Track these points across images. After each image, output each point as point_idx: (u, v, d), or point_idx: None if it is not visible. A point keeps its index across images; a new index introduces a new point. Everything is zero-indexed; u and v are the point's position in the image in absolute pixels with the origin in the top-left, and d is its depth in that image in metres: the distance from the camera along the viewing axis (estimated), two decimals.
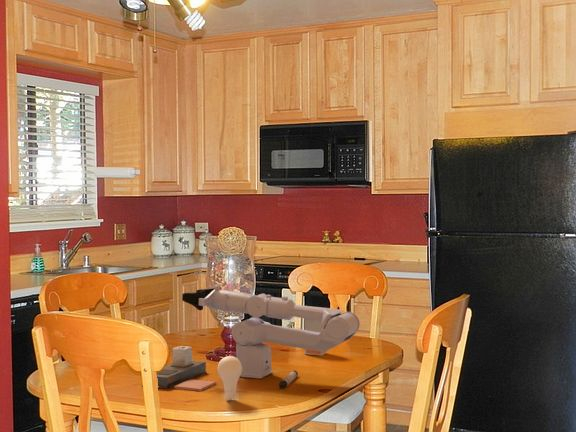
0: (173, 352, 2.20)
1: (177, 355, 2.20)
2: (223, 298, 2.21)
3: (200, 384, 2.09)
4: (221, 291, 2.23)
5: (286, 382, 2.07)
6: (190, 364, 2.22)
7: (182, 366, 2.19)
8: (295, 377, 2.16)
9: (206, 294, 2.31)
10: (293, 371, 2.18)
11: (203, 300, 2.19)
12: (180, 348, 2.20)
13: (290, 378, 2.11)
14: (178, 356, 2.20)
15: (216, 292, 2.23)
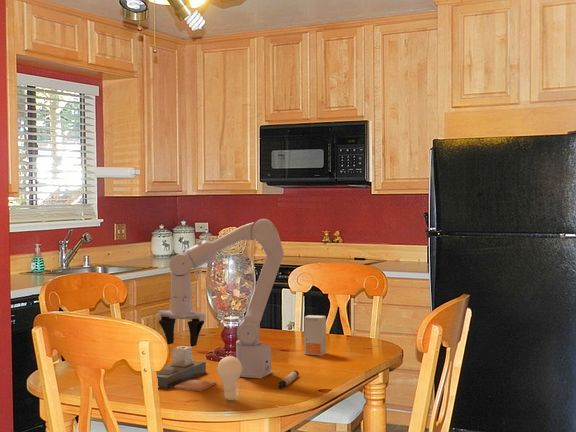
0: (173, 352, 2.20)
1: (177, 355, 2.20)
2: (187, 301, 2.19)
3: (200, 384, 2.09)
4: (179, 307, 2.18)
5: (285, 382, 2.07)
6: (190, 364, 2.22)
7: (182, 366, 2.19)
8: (296, 377, 2.16)
9: (170, 332, 2.23)
10: (294, 371, 2.18)
11: (202, 315, 2.17)
12: (180, 348, 2.20)
13: (290, 378, 2.11)
14: (178, 356, 2.20)
15: (182, 311, 2.18)
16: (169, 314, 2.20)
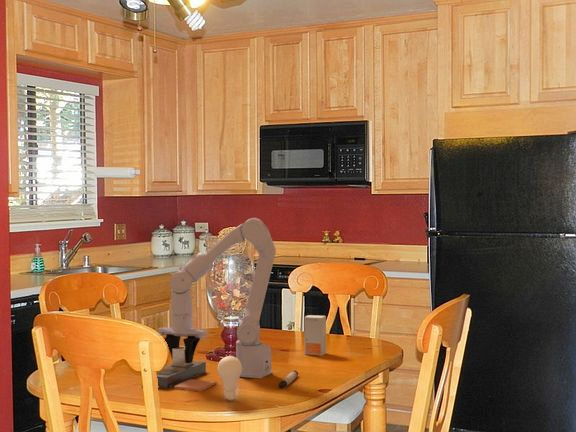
0: (173, 352, 2.20)
1: (177, 355, 2.20)
2: (187, 318, 2.19)
3: (200, 384, 2.09)
4: (180, 325, 2.18)
5: (286, 382, 2.07)
6: (190, 364, 2.22)
7: (182, 366, 2.19)
8: (295, 377, 2.16)
9: None
10: (293, 371, 2.18)
11: (203, 332, 2.18)
12: (180, 348, 2.20)
13: (290, 378, 2.11)
14: (178, 356, 2.20)
15: (182, 329, 2.18)
16: (169, 331, 2.20)
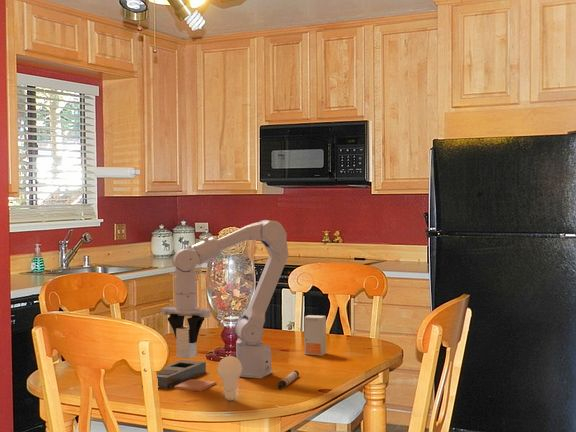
0: (177, 332, 2.16)
1: (180, 335, 2.15)
2: (191, 297, 2.14)
3: (200, 384, 2.09)
4: (183, 304, 2.14)
5: (285, 382, 2.08)
6: (194, 344, 2.17)
7: (186, 346, 2.15)
8: (296, 377, 2.16)
9: None
10: (294, 371, 2.18)
11: (207, 312, 2.13)
12: (184, 328, 2.16)
13: (290, 378, 2.11)
14: (182, 336, 2.15)
15: (186, 308, 2.14)
16: (173, 311, 2.15)
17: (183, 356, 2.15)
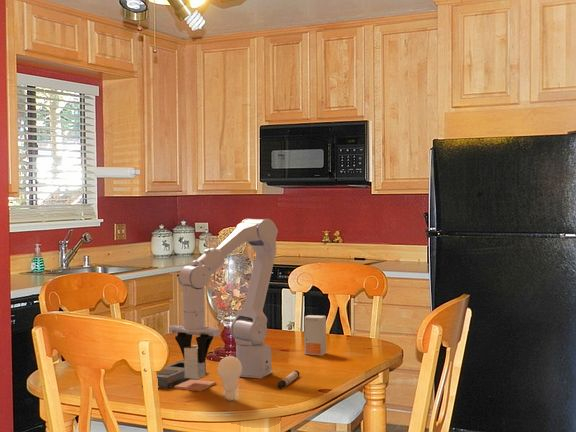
0: (185, 351, 2.08)
1: (189, 355, 2.08)
2: (200, 316, 2.07)
3: (200, 384, 2.09)
4: (192, 322, 2.06)
5: (285, 382, 2.08)
6: (203, 364, 2.09)
7: (194, 366, 2.07)
8: (296, 377, 2.16)
9: None
10: (295, 371, 2.18)
11: (216, 331, 2.05)
12: (192, 347, 2.08)
13: (290, 378, 2.11)
14: (190, 355, 2.07)
15: (195, 327, 2.06)
16: (181, 330, 2.08)
17: (191, 376, 2.07)
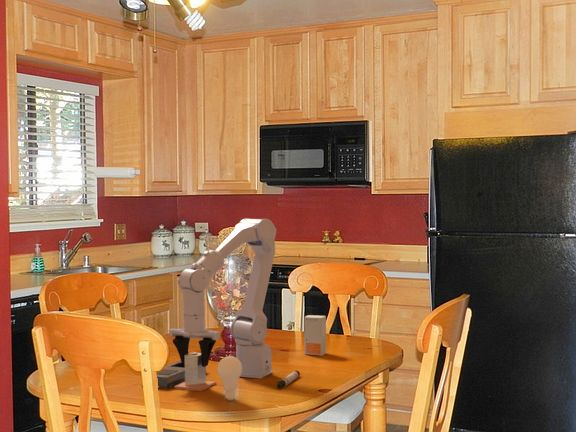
0: (185, 359, 2.08)
1: (189, 362, 2.08)
2: (200, 319, 2.07)
3: None
4: (192, 325, 2.06)
5: (284, 382, 2.08)
6: (203, 371, 2.09)
7: (195, 374, 2.07)
8: (296, 377, 2.16)
9: (184, 351, 2.10)
10: (295, 371, 2.18)
11: (217, 334, 2.05)
12: (193, 355, 2.08)
13: (290, 378, 2.11)
14: (190, 363, 2.07)
15: (195, 330, 2.06)
16: (181, 333, 2.08)
17: (192, 384, 2.08)
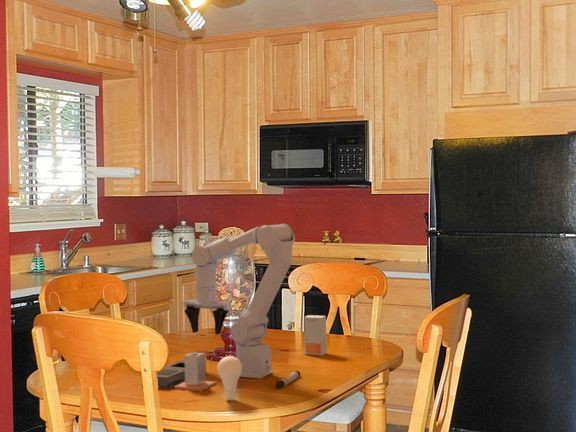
0: (185, 359, 2.08)
1: (189, 362, 2.08)
2: (212, 291, 2.27)
3: None
4: (205, 297, 2.27)
5: (283, 382, 2.08)
6: (203, 371, 2.09)
7: (195, 374, 2.07)
8: (296, 377, 2.16)
9: (195, 320, 2.31)
10: (295, 371, 2.18)
11: (227, 304, 2.26)
12: (193, 355, 2.08)
13: (289, 378, 2.11)
14: (190, 363, 2.07)
15: (207, 301, 2.27)
16: (195, 303, 2.28)
17: (192, 384, 2.08)
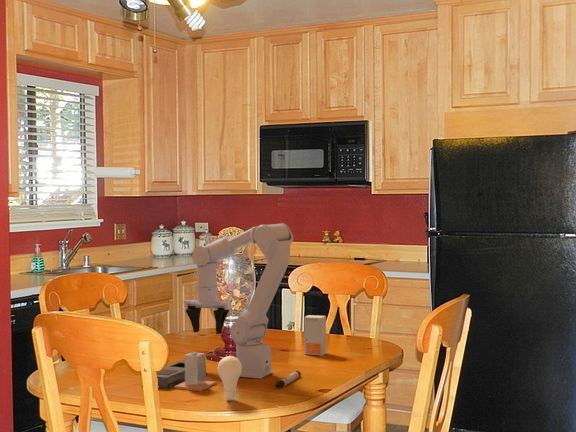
0: (185, 359, 2.08)
1: (189, 362, 2.08)
2: (213, 290, 2.28)
3: None
4: (205, 296, 2.27)
5: (283, 382, 2.08)
6: (203, 371, 2.09)
7: (195, 374, 2.07)
8: (297, 377, 2.16)
9: (196, 320, 2.32)
10: (296, 371, 2.18)
11: (228, 304, 2.27)
12: (193, 355, 2.08)
13: (289, 378, 2.11)
14: (190, 363, 2.07)
15: (208, 301, 2.27)
16: (195, 303, 2.29)
17: (192, 384, 2.08)
